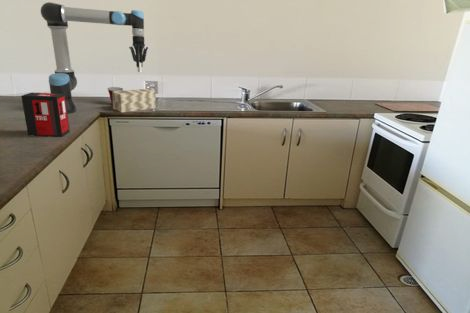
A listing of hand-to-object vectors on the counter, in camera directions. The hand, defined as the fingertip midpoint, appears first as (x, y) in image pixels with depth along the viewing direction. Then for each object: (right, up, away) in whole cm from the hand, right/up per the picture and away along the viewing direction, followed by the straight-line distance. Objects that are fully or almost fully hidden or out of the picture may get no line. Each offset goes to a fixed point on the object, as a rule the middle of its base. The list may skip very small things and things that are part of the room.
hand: (139, 72), depth 230 cm
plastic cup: (-20, -21, +13) cm, 32 cm away
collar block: (-4, -24, +4) cm, 25 cm away
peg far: (+1, -20, +8) cm, 22 cm away
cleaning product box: (-29, -47, -59) cm, 81 cm away
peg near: (-9, -23, -2) cm, 25 cm away
